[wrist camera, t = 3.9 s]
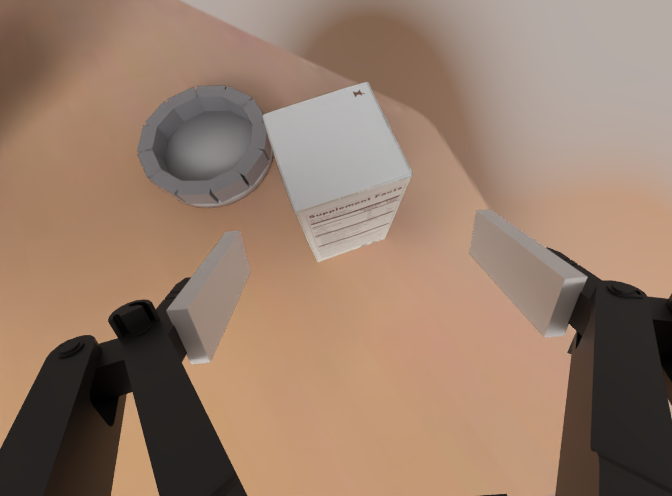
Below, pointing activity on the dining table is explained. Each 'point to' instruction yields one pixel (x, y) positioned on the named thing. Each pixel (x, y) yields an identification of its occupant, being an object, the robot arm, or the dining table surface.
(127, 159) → the dining table surface
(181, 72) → the dining table surface
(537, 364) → the dining table surface
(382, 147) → the supplement box
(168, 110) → the round holder
